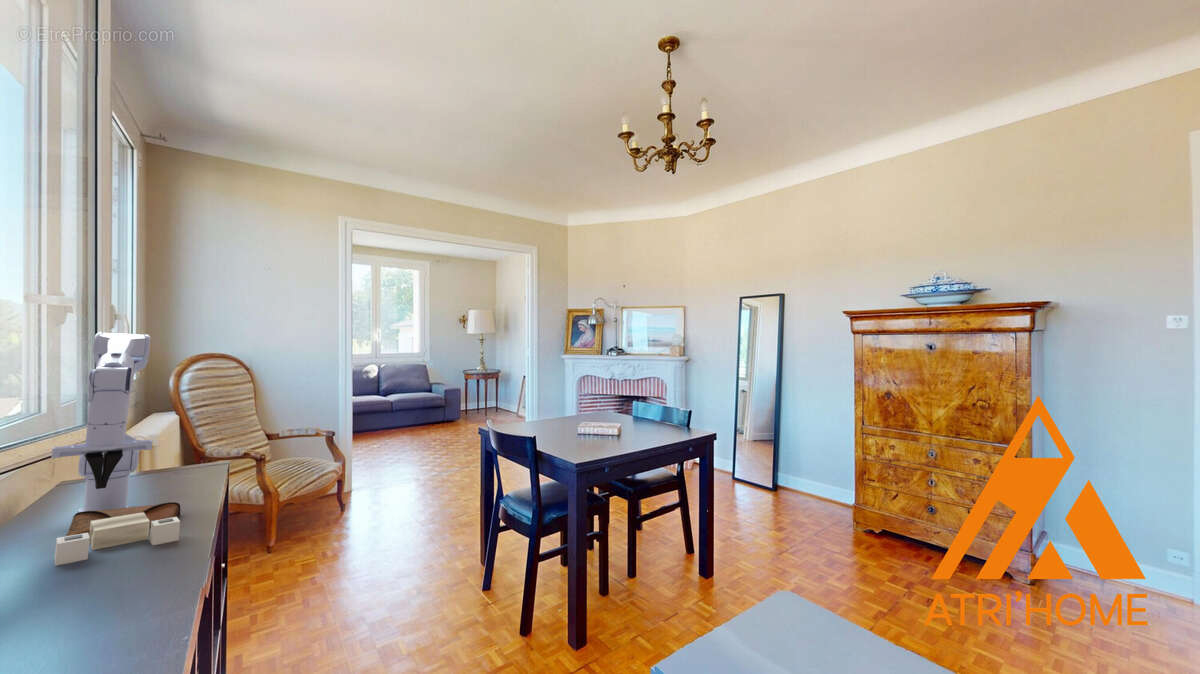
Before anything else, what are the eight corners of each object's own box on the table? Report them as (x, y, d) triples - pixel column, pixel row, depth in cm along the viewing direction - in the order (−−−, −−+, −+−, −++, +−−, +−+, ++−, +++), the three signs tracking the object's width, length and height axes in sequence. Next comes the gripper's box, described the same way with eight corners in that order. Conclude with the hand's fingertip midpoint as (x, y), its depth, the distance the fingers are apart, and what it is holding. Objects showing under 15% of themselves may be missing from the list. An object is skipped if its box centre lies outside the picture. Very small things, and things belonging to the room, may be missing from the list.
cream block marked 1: (54, 559, 87) (56, 536, 87) (86, 553, 90) (88, 531, 90) (55, 566, 85) (57, 542, 85) (87, 559, 88) (89, 537, 88)
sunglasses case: (59, 540, 95) (67, 507, 98) (66, 547, 100) (73, 516, 103) (177, 524, 106) (181, 495, 109) (178, 532, 111) (181, 503, 114)
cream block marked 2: (149, 540, 97) (151, 520, 98) (174, 535, 100) (176, 515, 101) (152, 545, 95) (154, 525, 95) (178, 540, 98) (180, 520, 98)
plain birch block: (88, 540, 97) (90, 520, 97) (142, 530, 103) (143, 512, 103) (92, 551, 92) (94, 530, 92) (148, 540, 98) (149, 521, 98)
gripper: (56, 428, 91) (48, 498, 90) (157, 422, 102) (151, 485, 101) (53, 424, 95) (46, 491, 94) (151, 419, 106) (145, 478, 106)
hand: (100, 487), depth 98 cm, fingers closed
